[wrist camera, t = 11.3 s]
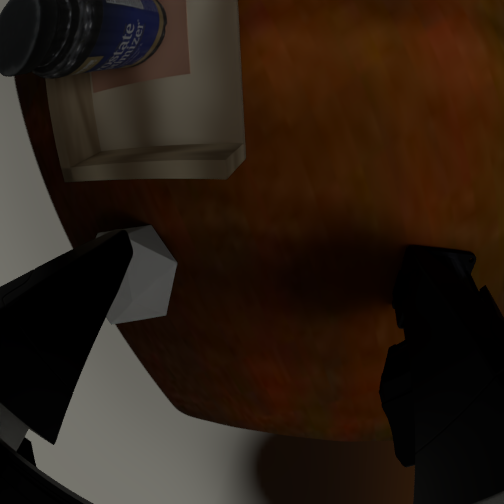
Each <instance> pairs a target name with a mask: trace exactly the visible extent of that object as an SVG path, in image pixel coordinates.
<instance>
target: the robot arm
mask: <svg viewBox="0 0 504 504" xmlns="http://www.w3.org/2000/svg"><path fill="white" fill-rule="evenodd" d="M132 257H133V248H132V244H131V241H130V238H129V235H128V232H127V231H126V230H124V229H115V230H113V231H110V232H108V233H106V234H104V235H102V236H100V237H97V238H95V239H93V240H91V241H89V242H87V243H85V244H83V245H81V246H79V247H77V248H75V249H72V250H70V251H69V252H66V253H65V254H62V255H60V256H58V257H56V258H55V259H53V260H51V261H49V262H47V263H45V264H43V265H41V266H39V267H37V268H35V270H31V271H30V272H28V273H26V274H24V275H22V276H20V277H18V278H16V279H15V280H13V281H11V282H9V283H7V284H5V285H3V286H1V287H0V504H93V503H91V502H89V501H88V500H86V499H84V498H82V497H80V496H79V495H77V494H76V493H74V492H72V491H71V490H69V489H67V488H66V487H64V486H63V485H61V484H60V483H58V482H57V481H55V480H54V479H52V478H51V477H49V476H47V475H46V474H45V473H43V472H42V471H41V470H39V469H38V468H37V467H36V463H35V459H34V455H33V450H32V445H31V442H30V441H29V440H28V439H26V438H25V435H26V433H27V431H28V429H30V430H32V431H33V432H35V433H36V434H38V435H39V436H41V437H42V438H44V439H45V440H47V441H48V442H50V443H51V444H53V445H54V444H55V442H56V440H57V436H58V433H59V430H60V428H61V425H62V422H63V419H64V416H65V413H66V410H67V408H68V405H69V402H70V400H71V397H72V394H73V392H74V389H75V386H76V384H77V381H78V379H79V376H80V374H81V371H82V369H83V367H84V364H85V362H86V360H87V357H88V355H89V353H90V350H91V348H92V346H93V344H94V341H95V339H96V337H97V335H98V333H99V330H100V328H101V326H102V324H103V322H104V320H105V318H106V316H107V314H108V312H109V309H110V307H111V305H112V303H113V301H114V299H115V297H116V295H117V293H118V291H119V289H120V286H121V284H122V281H123V279H124V276H125V274H126V271H127V269H128V266H129V264H130V262H131V259H132ZM470 258H472V259H471V260H469V259H470ZM475 262H476V257H475V255H474V254H473V253H471V252H463V251H455V250H447V249H439V248H431V247H422V246H408V247H407V249H406V252H405V256H404V260H403V263H402V267H401V270H399V273H398V276H397V279H396V283H395V286H394V289H393V293H392V294H393V301H392V306H393V308H394V309H395V313H396V320H397V326H398V327H399V328H401V329H404V335H405V340H404V341H402V342H401V343H399V344H397V345H396V344H395V345H393V346H391V347H389V349H388V354H387V358H386V362H385V366H384V370H383V373H382V376H381V382H380V390H379V394H380V398H381V402H382V408H383V410H384V412H385V414H386V416H387V418H388V421H389V424H390V427H391V430H392V435H393V441H394V448H395V454H396V457H397V458H398V460H399V461H400V462H401V464H402V465H403V466H405V467H409V466H413V465H415V485H414V502H413V504H504V317H503V316H502V314H501V312H500V310H499V308H498V306H497V304H496V303H495V301H494V299H493V297H492V295H491V294H490V292H489V290H488V288H487V287H486V285H485V286H484V287H482V288H481V289H480V291H478V289H477V287H476V285H475V282H474V280H473V278H472V276H471V272H472V269H473V267H474V264H475Z"/></svg>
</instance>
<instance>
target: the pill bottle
mask: <svg viewBox="0 0 504 504" xmlns="http://www.w3.org/2000/svg"><path fill="white" fill-rule="evenodd" d="M166 25H167V16H166V12H165V9H164V7H163V6H162V4H161V3H160V2H159V1H158V0H10V1H9V2H8V3H7V4H6V6H5V7H4V9H3V10H2V12H1V14H0V73H1V74H2V75H3V76H15V75H20V74H26V73H29V72H31V71H32V72H33V73H34V74H36V75H38V76H40V77H43V78H48V79H55V78H60V77H65V76H70V75H75V74H81V73H88V72H94V71H101V70H108V69H117V68H126V67H134V66H137V65H139V64H141V63H143V62H145V61H146V60H147V59H148V58H150V57H151V56H152V55H153V54H154V53H155V52H156V50H157V49H158V48H159V46H160V45H161V43H162V41H163V39H164V36H165V32H166V31H165V27H166Z"/></svg>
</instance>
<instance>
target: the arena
mask: <svg viewBox="0 0 504 504" xmlns="http://www.w3.org/2000/svg"><path fill="white" fill-rule="evenodd" d="M158 1H159V2H160V3H161V4H162V6H163V7H164V9H165V12H166V16H167V25H166V27H165V31H166V32H165V36H164V39H163V41H162V43H161V45H160V46H159V48H158V49H157V50H156V52H155V53H154V54H153V55H152V56H151V57H150V58H148V59H147V60H146V61H145V62H143V63H141V64H139V65H137V66H134V67H126V68H117V69H108V70H101V71H94V72H88V73H81V74H75V75H70V76H65V77H60V78H55V79H48V78H45V80H46V88H47V96H48V103H49V110H50V116H51V122H52V127H53V133H54V138H55V143H56V148H57V152H58V157H59V161H60V165H61V169H62V173H63V177H64V181H65V182H77V181H94V180H118V179H228V177H229V176H230V175H231V174H232V173H233V172H234V171H235V170H236V169H237V167H238V166H239V165H240V164H241V163H242V162H243V161H244V160H245V159H246V151H245V132H244V112H243V93H242V74H241V54H240V34H239V15H238V0H158Z"/></svg>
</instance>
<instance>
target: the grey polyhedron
mask: <svg viewBox="0 0 504 504" xmlns="http://www.w3.org/2000/svg"><path fill="white" fill-rule="evenodd" d="M124 230H126V231H127V232H128V235H129V238H130V241H131V244H132V248H133V257H132V259H131V262H130V264H129V266H128V269H127V271H126V274H125V276H124V279H123V281H122V284H121V286H120V289H119V291H118V293H117V295H116V297H115V299H114V301H113V303H112V305H111V307H110V309H109V312H108V314H107V316H106V318H107V319H108V321H109V322H110V323H111V324H117V323H123V322H130V321H136V320H142V319H148V318H153V317H159V316H165V315H166V314H167V309H168V304H169V299H170V294H171V289H172V285H173V280H174V276H175V271H176V267H177V262H176V260H175V259H174V258H173V256H172V255H171V253H170V252H169V250H168V249H167V247H166V246H165V245H164V243H163V242H162V240H161V239H160V237H159V236H158V234H157V233H156V231H155V230H154V228H153V227H152V225H147V226H140V227H133V228H126V229H124ZM108 232H110V231H107V232H100V233H98V234H97V236H96V238H97V237H100V236H102V235H104V234H106V233H108Z"/></svg>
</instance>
